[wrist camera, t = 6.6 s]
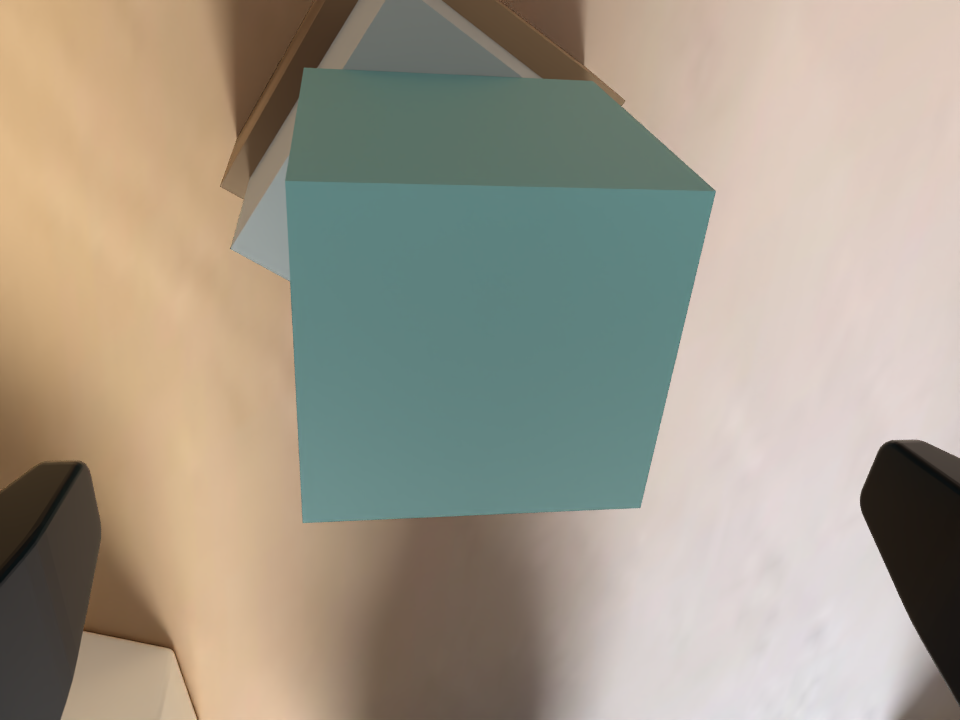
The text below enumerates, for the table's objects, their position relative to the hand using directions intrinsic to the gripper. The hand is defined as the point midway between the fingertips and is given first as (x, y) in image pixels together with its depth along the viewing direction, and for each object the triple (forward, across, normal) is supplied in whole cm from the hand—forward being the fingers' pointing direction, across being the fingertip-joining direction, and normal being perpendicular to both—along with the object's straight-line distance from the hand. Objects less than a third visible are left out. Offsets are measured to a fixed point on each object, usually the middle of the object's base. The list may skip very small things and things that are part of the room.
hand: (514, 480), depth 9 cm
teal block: (+6, 0, -1) cm, 6 cm away
